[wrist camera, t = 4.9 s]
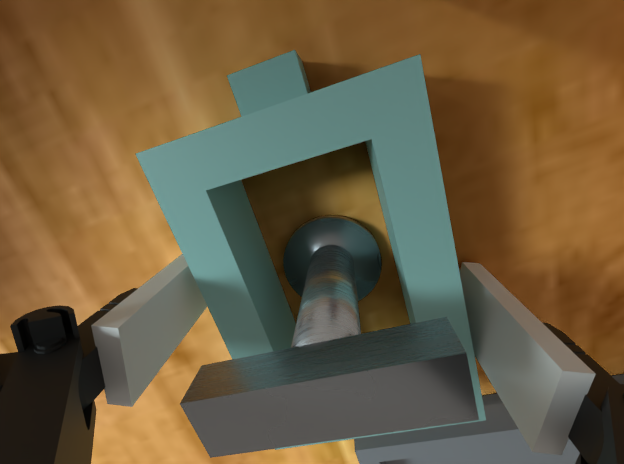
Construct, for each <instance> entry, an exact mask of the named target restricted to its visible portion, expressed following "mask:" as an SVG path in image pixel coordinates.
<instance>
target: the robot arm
mask: <svg viewBox="0 0 624 464" xmlns="http://www.w3.org/2000/svg"><path fill="white" fill-rule="evenodd" d="M460 278H461V283H462V289H463V294H464V300H465V305H466V311H467V317H468V322H469V328H470V333H471V339H472V344H473V350H474V355H475V357H476V358H477V360H478V362H479V363H480V365H481V367H482V368H483V370H484V372H485V374H486V375H487V377H488V379H489V380H490V382H491V384H492V385H493V387H494V389H495V390H496V392H497V394H498V395H499V397H500V399H501V400H502V402H503V404H504V405H505V407H506V409H507V410H508V412H509V414H510V415H511V417H512V419H513V420H514V422H515V424H516V425H517V427H518V429H519V430H520V432H521V434H522V435H523V437H524V439H525V440H526V442H527V444H528V446H529V447H530V449H531V451H532V452H536V453H545V454H554V455H562V453H563V451H564V449H565V446H566V444H567V442H568V439H570V440H571V442H572V443H573V444H574V446H575V447H576V448H577V450H578V451H579V452H580V454H579V456H578V458H577V460H576V463H575V464H624V384H620V383H618V382H617V381H616V380H615V379H614V378H613V377H612V376H611V375H610V374H608V373H607V372H606V371H605V370H604V369H603V368H602V367H601V366H600V365H599V364H597V363H596V362H595V361H594V360H593V359H592V358H591V357H590V356H589V355H586V354H585V352H584V351H583V350H582V349H581V348H580V347H579V346H576V345H575V343H574V342H573V341H572V340H571V339H570V338H569V337H568V336H567V335H566V334H564V333H563V332H562V331H560V330H558V329H556V328H555V327H553V326H551V325H550V324H548V323H542V322H541V321H540V320H539V319H538V318H537V317H536V316H534V315H533V314H532V313H531V312H530V311H529V310H528V309H527V308H526V307H525V306H524V305H523V304H522V303H521V302H520V301H519V300H518V299H517V298H516V297H515V296H514V295H512V294H511V293H510V292H509V291H508V290H507V289H506V288H505V287H504V286H503V285H502V284H501V283H500V282H499V281H498V280H497V279H496V278H495V277H494V276H493V275H492V274H490V273H489V272H488V271H487V270H486V269H485V268H484V267H483V266H482V265H481V264H480V263H470V262H462V265H461V269H460ZM206 307H207V304H206V302H205V300H204V298H203V296H202V294H201V291H200V289H199V287H198V285H197V283H196V281H195V279H194V277H193V275H192V272H191V270H190V268H189V266H188V264H187V262H186V260H185V258H184V256H183V254H181V255H180V256H179V257H178V258H176V259H175V260H174V261H173V262H171V263H170V264H169V265H167V266H166V267H165V268H164V269H162V270H161V271H160V272H159V273H157V274H156V275H155V276H153V277H152V278H151V279H150V280H148V281H147V282H146V283H145V284H143V285H142V286H141V287H140V288H138V289H137V288H133V289H131V290H129V291H127V292H124V293H122V294H120V295H118V296H117V297H116V298H114V299H113V300H112V301H110V302H109V304H106V305H105V306H104V307H102V308H101V309H100V311H97V312H96V313H94V314H93V315H92V316H90V317H89V318H88V319H86V320H85V321H84V322H82V323H81V324H80V325H78V326H77V322H76V318H75V314H74V309H72V308H70V307H68V306H52V307H46V308H42V309H38V310H35V311H32V312H30V313H27V314H25V315H23V316H22V317H20V318H18V319H17V320H15V321H14V322H13V323H12V324H11V330H12V333H13V336H14V339H15V343H16V346H17V349H18V352H15V353H6V354H0V464H91V457H92V447H93V437H94V427H95V417H96V406H95V402H94V399H95V398H96V397H97V396H98V395H99V394H100V393H101V392H102V390H103V389H105V394H106V399H107V403H108V404H113V405H121V406H130V407H132V406H133V405H134V403H135V402H136V401H137V399H138V398H139V397H140V395H141V394H142V393H143V391H144V390H145V389H146V387H147V386H148V385H149V383H150V382H151V381H152V379H153V378H154V377H155V375H156V374H157V373H158V371H159V370H160V369H161V367H162V366H163V365H164V363H165V362H166V361H167V359H168V358H169V357H170V355H171V354H172V353H173V351H174V350H175V349H176V347H177V346H178V345H179V343H180V342H181V341H182V339H183V338H184V337H185V335H186V334H187V333H188V331H189V330H190V329H191V327H192V326H193V325H194V323H195V322H196V321H197V319H198V318H199V317H200V315H201V314H202V313H203V311H204V310H205V309H206Z"/></svg>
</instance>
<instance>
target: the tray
mask: <svg viewBox="0 0 624 464" xmlns="http://www.w3.org/2000/svg"><path fill="white" fill-rule="evenodd" d="M612 377H613V378H614V379H615V380H616V381H617V382H618V383H620V384H624V374H621V375H615V376H612ZM482 400H483V405H484V411H485V417H486V420H485V421H478V422H471V423H463V424H456V425H449V426H442V427H435V428H428V429H420V430H413V431H406V432H399V433H392V434H384V435H377V436H370V437H363V438H356V439H354V442H355V452H356V455H357V458H358V461H359V463H360V464H575V463H576V460H577V458H578V456H579V454H580V452H579V451H578V450H577V448H576V447H575V446H574V444H573V443H572V442H571V440H570V439H568V442H567V444H566V446H565V449H564V451H563V453H562V455H554V454H545V453H536V452H532V451H531V449H530V447H529V446H528V444H527V442H526V440H525V439H524V437H523V435H522V434H521V432H520V430H519V429H518V427H517V425H516V424H515V422H514V420H513V419H512V417H511V415H510V414H509V412H508V410H507V409H506V407H505V405H504V404H503V402H502V400H501V399H500V397H499V395H498V394H490V395H484V396H482Z"/></svg>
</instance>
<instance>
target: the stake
mask: <svg viewBox="0 0 624 464" xmlns="http://www.w3.org/2000/svg"><path fill="white" fill-rule="evenodd" d="M283 265H284V271H285V275H286V278H287V280H288V282H289V284H290V285H291V287H292V288H293V289H294V290H295V291H296V292H297V293H298V294H299V295H300V296H301V297H302V300H301V304H300V309H299V313H298V318H297V322H296V327H295V332H294V336H293V341H292V345H291V348H288V349H283V350H278V351H273V352H268V353H263V354H258V355H253V356H247V357H242V358H237V359H232V360H227V361H222V362H217V363H212V364H207V365H202V366H201V368H200V369H199V371H198V373H197V375H196V376H195V378H194V380H193V382H192V383H191V385H190V387H189V389H188V390H187V392H186V394H185V396H184V397H183V399H182V401H181V403H180V405H181V407H182V408H183V410H184V412H185V414H186V415H187V417H188V419H189V421H190V422H191V424H192V426H193V428H194V429H195V431H196V433H197V435H198V437H199V438H200V440H201V442H202V444H203V445H204V447H205V449H206V451H207V452H208V454H209V456H210V458H211V457H218V456H225V455H232V454H240V453H247V452H254V451H261V450H268V449H275V448H283V447H290V446H297V445H304V444H311V443H318V442H326V441H333V440H340V439H347V438H354V437H361V436H369V435H376V434H383V433H390V432H397V431H404V430H412V429H419V428H426V427H433V426H440V425H447V424H454V423H462V422H469V421H476V420H479V416H478V411H477V406H476V401H475V395H474V390H473V385H472V379H471V374H470V369H469V364H468V358H467V353H466V351H465V349H464V347H463V346H462V344H461V342H460V340H459V338H458V336H457V335H456V333H455V331H454V329H453V327H452V325H451V324H450V322H449V320H448V318H447V317H443V318H438V319H433V320H428V321H423V322H418V323H413V324H408V325H403V326H398V327H393V328H388V329H383V330H378V331H373V332H368V333H363V334H361V329H360V318H359V308H358V301H359V300H361V299H363V298H364V297H365V296H367V295H368V294H369V293H370V292H371V291H372V289H373V288H374V287H375V285H376V283H377V281H378V279H379V277H380V273H381V266H382V262H381V254H380V251H379V248H378V245H377V242H376V240H375V238H374V237H373V235H372V234H371V233H370V232H369V230H368V229H367V228H365V227H364V226H363V225H362V224H360V223H359V222H357V221H355V220H353V219H351V218H348V217H344V216H339V215H325V216H320V217H316V218H313V219H311V220H309V221H307V222H305V223H304V224H302V225H301V226H300V227H299V228H298V229H297V230H296V231H295V232H294V233H293V235H292V236H291V238H290V240H289V242H288V244H287V247H286V249H285V253H284V259H283Z"/></svg>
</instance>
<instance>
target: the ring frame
mask: <svg viewBox="0 0 624 464" xmlns="http://www.w3.org/2000/svg"><path fill="white" fill-rule="evenodd" d="M227 77H228V80H229V83H230V86H231V89H232V91H233V94H234V97H235V100H236V103H237V105H238V108H239V111H240V114H241V117H239V118H236V119H234V120H231V121H228V122H225V123H222V124H219V125H217V126H214V127H211V128H208V129H205V130H202V131H199V132H197V133H194V134H191V135H188V136H185V137H182V138H179V139H177V140H174V141H171V142H168V143H165V144H162V145H159V146H157V147H154V148H151V149H148V150H145V151H142V152H139V153H137V154H136V156H137V158H138V161H139V163H140V165H141V167H142V169H143V171H144V173H145V175H146V177H147V180H148V182H149V184H150V186H151V188H152V190H153V192H154V194H155V196H156V199H157V201H158V203H159V205H160V207H161V209H162V211H163V213H164V215H165V218H166V220H167V222H168V224H169V226H170V228H171V230H172V232H173V234H174V237H175V239H176V241H177V243H178V245H179V247H180V249H181V251H182V253H183V256H184V258H185V260H186V262H187V264H188V266H189V268H190V270H191V272H192V275H193V277H194V279H195V281H196V283H197V285H198V287H199V289H200V291H201V294H202V296H203V298H204V300H205V302H206V304H207V306H208V308H209V310H210V313H211V315H212V317H213V319H214V321H215V323H216V325H217V327H218V329H219V332H220V334H221V336H222V338H223V340H224V342H225V344H226V346H227V348H228V351H229V353H230V355H231V357H232V359H237V358H242V357H247V356H253V355H258V354H263V353H268V352H273V351H278V350H283V349H288V348H291V345H292V341H293V336H294V332H295V327H296V323H295V320H294V318H293V315H292V312H291V310H290V307H289V304H288V302H287V299H286V296H285V294H284V291H283V289H282V286H281V283H280V281H279V278H278V275H277V273H276V270H275V268H274V265H273V262H272V260H271V257H270V254H269V252H268V249H267V247H266V244H265V241H264V239H263V236H262V233H261V231H260V228H259V226H258V223H257V220H256V218H255V215H254V212H253V210H252V207H251V205H250V202H249V199H248V197H247V194H246V191H245V189H244V186H243V184H242V181H241V180H242V179H245V178H248V177H251V176H254V175H258V174H261V173H264V172H267V171H270V170H274V169H277V168H280V167H283V166H287V165H290V164H293V163H296V162H299V161H303V160H306V159H309V158H312V157H315V156H319V155H322V154H325V153H328V152H331V151H335V150H338V149H341V148H344V147H348V146H351V145H354V144H357V143H360V142H364V141H365V143H366V147H367V151H368V155H369V159H370V163H371V167H372V171H373V175H374V179H375V183H376V187H377V191H378V195H379V199H380V203H381V207H382V211H383V215H384V219H385V223H386V227H387V231H388V235H389V240H390V244H391V248H392V252H393V256H394V260H395V264H396V268H397V272H398V276H399V280H400V284H401V288H402V292H403V296H404V300H405V304H406V308H407V312H408V316H409V320H410V324H413V323H418V322H423V321H428V320H433V319H438V318H443V317H447V318H448V320H449V322H450V324H451V325H452V327H453V329H454V331H455V333H456V335H457V336H458V338H459V340H460V342H461V344H462V346H463V347H464V349H465V351H466V353H467V358H468V364H469V369H470V374H471V379H472V385H473V390H474V395H475V401H476V406H477V411H478V416H479V420H476V421H469V422H462V423H454V424H447V425H440V426H433V427H426V428H419V429H412V430H404V431H397V432H390V433H383V434H376V435H369V436H361V437H354V438H347V439H340V440H333V441H326V442H318V443H311V444H304V445H297V446H290V447H283V448H275V450H276V449H284V448H291V447H298V446H305V445H312V444H320V443H327V442H334V441H341V440H348V439H356V438H363V437H370V436H377V435H384V434H392V433H399V432H406V431H413V430H420V429H428V428H435V427H442V426H449V425H456V424H463V423H471V422H478V421H485V420H486V417H485V411H484V405H483V400H482V394H481V389H480V383H479V378H478V372H477V367H476V361H475V355H474V350H473V344H472V339H471V333H470V328H469V322H468V317H467V311H466V305H465V300H464V294H463V289H462V283H461V278H460V272H459V267H458V261H457V256H456V250H455V244H454V239H453V233H452V228H451V222H450V217H449V211H448V206H447V200H446V194H445V189H444V183H443V178H442V172H441V167H440V161H439V156H438V150H437V144H436V139H435V133H434V128H433V122H432V117H431V111H430V106H429V100H428V95H427V89H426V83H425V78H424V72H423V67H422V61H421V56H420V54H419V55H416V56H413V57H411V58H408V59H405V60H402V61H399V62H396V63H393V64H391V65H388V66H385V67H382V68H379V69H376V70H373V71H371V72H368V73H365V74H362V75H359V76H356V77H353V78H351V79H348V80H345V81H342V82H339V83H336V84H333V85H331V86H328V87H325V88H322V89H319V90H316V91H314V92H311V91H310V87H309V84H308V80H307V77H306V73H305V70H304V66H303V63H302V60H301V59H300V57H299V56H298V54H297V52H296V51H295V50H293V51H290V52H288V53H285V54H282V55H280V56H277V57H274V58H272V59H269V60H267V61H264V62H261V63H259V64H256V65H253V66H251V67H248V68H245V69H243V70H240V71H238V72H235V73H232V74H230V75H227Z"/></svg>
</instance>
